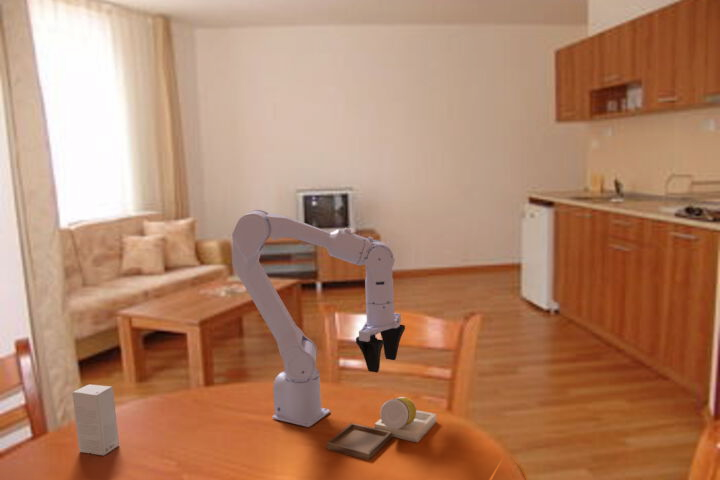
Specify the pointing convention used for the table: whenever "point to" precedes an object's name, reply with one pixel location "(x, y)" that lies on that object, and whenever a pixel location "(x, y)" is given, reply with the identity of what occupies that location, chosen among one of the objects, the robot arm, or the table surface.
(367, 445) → the gray square tray
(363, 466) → the table surface
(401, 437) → the cream tray
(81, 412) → the skincare box
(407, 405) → the supplement bottle
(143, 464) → the table surface
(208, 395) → the table surface
